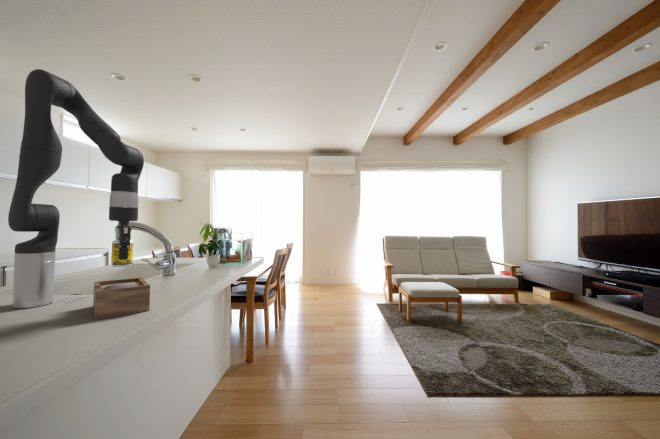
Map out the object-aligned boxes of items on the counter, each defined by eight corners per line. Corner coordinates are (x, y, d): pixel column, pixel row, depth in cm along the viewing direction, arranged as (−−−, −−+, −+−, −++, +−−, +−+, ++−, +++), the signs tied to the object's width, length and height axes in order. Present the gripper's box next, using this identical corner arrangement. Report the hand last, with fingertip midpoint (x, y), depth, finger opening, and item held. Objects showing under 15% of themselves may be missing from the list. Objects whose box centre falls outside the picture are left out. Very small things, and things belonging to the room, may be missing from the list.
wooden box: (93, 306, 90) (94, 281, 90) (140, 299, 99) (141, 277, 99) (95, 319, 78) (96, 291, 78) (149, 310, 87) (150, 285, 87)
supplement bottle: (110, 267, 85) (111, 234, 85) (112, 265, 89) (113, 234, 90) (132, 266, 88) (133, 234, 88) (133, 264, 92) (134, 234, 93)
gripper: (107, 206, 92) (105, 256, 91) (111, 204, 81) (109, 261, 81) (134, 207, 97) (133, 255, 96) (141, 206, 86) (139, 260, 86)
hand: (122, 258), depth 89 cm, fingers closed on supplement bottle, 5 cm apart
